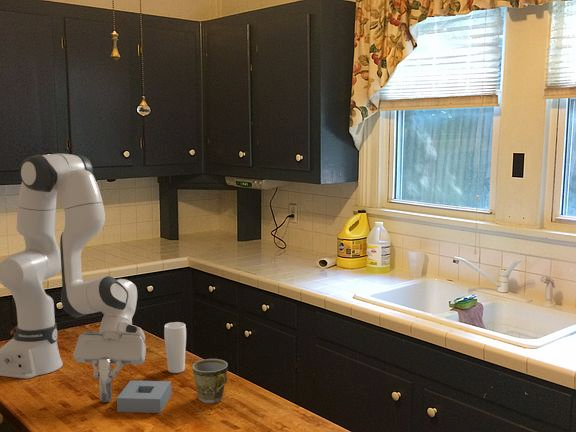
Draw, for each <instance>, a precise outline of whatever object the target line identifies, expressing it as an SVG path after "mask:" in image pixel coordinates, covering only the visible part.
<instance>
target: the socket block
mask: <svg viewBox="0 0 576 432" xmlns="http://www.w3.org/2000/svg"><path fill="white" fill-rule="evenodd" d="M172 395H173V394H172V381H165V380H129V382H128V383H127V384H126V386H125V387H124V388H123V390H121V392H120V393H119V394H118V396H117V397H116V410H117V411H116V412H117V413H146V414H148V413H149V414H150V413H151V414H152V413H153V414H161V413H162V412H163V410H164V408H165V406H166V404H167V402H168V401H169V399H170V398H171V396H172Z"/></svg>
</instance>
